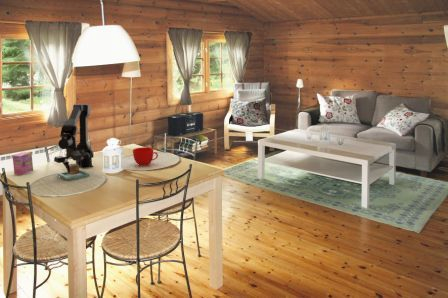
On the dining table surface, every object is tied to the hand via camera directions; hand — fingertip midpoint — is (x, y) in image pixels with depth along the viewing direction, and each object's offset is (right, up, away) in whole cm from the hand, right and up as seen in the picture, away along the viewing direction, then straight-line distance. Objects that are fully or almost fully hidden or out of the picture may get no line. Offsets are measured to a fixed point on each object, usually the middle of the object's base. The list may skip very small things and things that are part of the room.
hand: (73, 171), depth 246 cm
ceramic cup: (+38, +3, +25) cm, 46 cm away
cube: (0, -1, 0) cm, 1 cm away
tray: (0, -3, +1) cm, 3 cm away
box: (-33, -1, +9) cm, 34 cm away
